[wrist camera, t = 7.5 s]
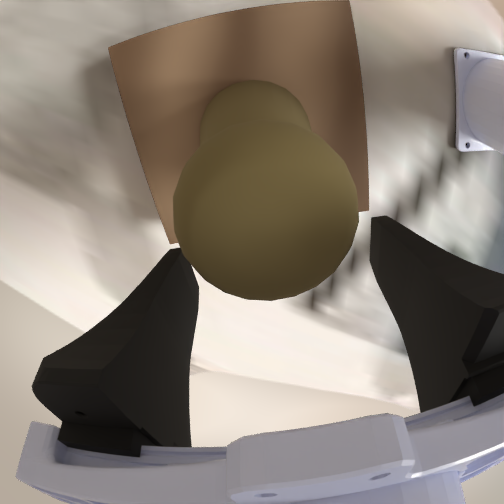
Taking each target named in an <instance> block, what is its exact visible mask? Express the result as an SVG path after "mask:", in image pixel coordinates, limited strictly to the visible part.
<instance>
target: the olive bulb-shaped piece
mask: <svg viewBox="0 0 504 504" xmlns="http://www.w3.org/2000/svg"><path fill="white" fill-rule="evenodd" d="M173 223H174V233H175V235H176V238H177V240H178V243H179V245H180V248H181V250H182V253H183V255H184V257H185V258H186V259H187V260H188V261H189V263H190V264H191V265H192V266H193V267H194V268H195V270H196V271H197V272H198V273H199V274H200V275H201V276H202V277H203V278H204V279H205V280H206V281H207V282H209V283H210V284H212V285H214V286H215V287H217V288H218V289H220V290H222V291H223V292H225V293H228V294H231V295H234V296H238V297H241V298H244V299H248V300H267V301H272V300H278V299H283V298H289V297H294V296H297V295H299V294H301V293H303V292H305V291H308V290H310V289H312V288H314V287H316V286H318V285H319V284H320V283H321V282H323V281H324V280H325V279H326V278H328V277H329V276H330V275H331V274H333V273H334V272H335V270H336V269H337V268H338V266H339V265H340V263H341V262H342V260H343V259H344V258H345V256H346V255H347V253H348V251H349V250H350V248H351V246H352V243H353V240H354V236H355V233H356V230H357V226H358V223H359V214H358V197H357V190H356V186H355V183H354V181H353V179H352V177H351V174H350V172H349V170H348V168H347V165H346V163H345V161H344V160H343V159H342V158H341V157H340V156H339V155H338V154H337V153H336V152H335V151H334V150H333V149H332V148H331V147H330V146H329V145H328V144H327V143H326V142H325V141H324V140H323V139H322V138H321V137H320V136H319V135H318V134H316V133H313V132H312V130H311V126H310V123H309V119H308V116H307V114H306V112H305V110H304V108H303V106H302V105H301V103H300V101H299V100H298V99H297V98H296V97H295V96H294V95H293V94H292V93H290V92H289V91H288V90H287V89H286V88H283V87H281V86H279V85H277V84H274V83H272V82H269V81H259V80H248V81H244V82H239V83H235V84H232V85H231V86H229V87H227V88H226V89H224V90H222V91H220V92H219V93H218V94H217V95H216V96H215V97H214V98H213V99H212V101H211V102H210V103H209V104H208V105H207V107H206V109H205V112H204V114H203V117H202V119H201V122H200V147H199V148H198V149H197V150H196V152H195V153H194V154H193V155H192V156H191V158H190V159H189V160H188V161H187V163H186V164H185V166H184V168H183V170H182V172H181V175H180V178H179V180H178V183H177V186H176V189H175V192H174V195H173Z"/></svg>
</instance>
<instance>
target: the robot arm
mask: <svg viewBox="0 0 504 504" xmlns="http://www.w3.org/2000/svg"><path fill="white" fill-rule="evenodd" d="M464 53H466V58H465V56H464ZM454 63H455V78H456V148H457V149H458V150H459V151H483V150H496V151H498V152H499V153H501V154H503V155H504V56H503V55H498V54H493V53H488V52H483V51H477V50H470V49H464V48H456V49H455V50H454ZM466 143H467V146H466V147H465V144H466ZM370 263H371V266H372V269H373V272H374V275H375V278H376V281H377V283H378V285H379V287H380V289H381V291H382V293H383V295H384V297H385V299H386V301H387V303H388V305H389V307H390V309H391V311H392V313H393V315H394V318H395V320H396V322H397V324H398V326H399V329H400V331H401V334H402V337H403V340H404V343H405V346H406V350H407V353H408V356H409V360H410V364H411V368H412V371H413V376H414V380H415V385H416V389H417V394H418V400H419V406H420V412H421V413H419V414H416V415H412V416H409V417H406V418H403V417H401V416H398V415H393V414H389V413H385V414H378V415H370V416H365V417H360V418H356V419H352V420H346V421H341V422H336V423H331V424H325V425H319V426H313V427H307V428H300V429H293V430H285V431H276V432H267V433H260V434H255V435H250V436H244V437H242V438H239V439H237V440H235V441H233V442H231V443H230V444H229V445H227V447H192V446H191V435H190V415H189V373H190V359H191V351H192V345H193V339H194V333H195V327H196V321H197V315H198V305H199V286H198V283H197V280H196V277H195V275H194V272H193V269H192V266H191V264H190V263H189V261H188V260H187V259H186V258H185V257H184V255H183V253H182V250H181V248H175V249H170V250H169V251H168V252H167V253H166V254H165V255H164V256H163V258H162V259H161V260H160V261H159V262H158V263H157V265H156V266H155V267H154V268H153V269H152V270H151V272H150V273H149V274H148V275H147V276H146V277H145V279H144V280H143V281H142V282H141V283H140V284H139V285H138V286H137V287H136V289H135V290H134V291H133V292H132V293H131V294H130V295H129V296H128V297H127V298H126V299H125V300H124V301H123V302H122V303H121V304H120V305H119V306H118V307H117V308H116V309H115V310H114V311H113V312H111V313H110V314H109V315H108V316H107V317H106V318H104V319H103V320H102V321H100V322H99V323H98V324H97V325H95V326H94V327H93V328H92V329H90V330H89V331H88V332H86V333H85V334H83V335H82V336H81V337H79V338H77V339H76V340H74V341H73V342H71V343H70V344H68V345H66V346H65V347H63V348H61V349H59V350H57V351H56V352H54V353H52V354H50V355H48V356H46V357H44V358H43V360H42V362H41V365H40V367H39V370H38V372H37V375H36V377H35V380H34V382H33V385H32V390H33V392H34V394H35V396H36V397H37V399H38V400H39V401H40V402H41V403H42V404H43V405H44V406H45V407H46V408H47V409H49V410H50V411H51V412H52V413H53V414H54V415H56V416H57V417H58V418H59V419H60V420H61V421H62V425H61V428H58V427H56V426H54V425H50V424H44V423H40V422H35V421H32V422H31V424H30V427H29V431H28V434H27V437H26V441H25V444H24V447H23V450H22V454H21V458H20V461H19V465H18V469H17V473H16V478H17V479H18V480H20V481H22V482H24V483H25V484H27V485H29V486H31V487H33V488H35V489H37V490H39V491H41V492H43V493H45V494H47V495H49V496H51V497H53V498H56V499H58V500H60V501H63V502H67V503H69V504H466V503H465V498H464V495H463V490H462V486H461V483H462V482H464V481H466V480H468V479H470V478H472V477H474V476H476V475H478V474H480V473H482V472H484V471H486V470H488V469H489V468H491V467H493V466H495V465H497V464H498V463H500V462H502V461H504V274H501V273H498V272H495V271H492V270H489V269H486V268H483V267H481V266H478V265H476V264H473V263H471V262H468V261H466V260H464V259H462V258H459V257H457V256H455V255H453V254H451V253H449V252H447V251H445V250H443V249H442V248H440V247H438V246H436V245H434V244H433V243H431V242H429V241H428V240H426V239H424V238H423V237H421V236H419V235H418V234H416V233H414V232H413V231H411V230H410V229H408V228H406V227H405V226H403V225H402V224H400V223H398V222H397V221H395V220H393V219H392V218H390V217H388V216H379V217H372V218H371V242H370Z"/></svg>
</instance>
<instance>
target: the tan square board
mask: <svg viewBox="0 0 504 504" xmlns="http://www.w3.org/2000/svg"><path fill="white" fill-rule="evenodd" d="M108 50H109V54H110V58H111V62H112V66H113V69H114V73H115V77H116V81H117V84H118V88H119V92H120V95H121V99H122V102H123V106H124V109H125V112H126V116H127V119H128V123H129V126H130V129H131V132H132V136H133V139H134V142H135V145H136V148H137V151H138V155H139V158H140V161H141V164H142V167H143V170H144V173H145V176H146V179H147V182H148V185H149V188H150V190H151V193H152V196H153V199H154V202H155V205H156V207H157V210H158V213H159V216H160V219H161V221H162V224H163V227H164V229H165V232H166V235H167V237H168V240H169V243H170V244H174V243H178V240H177V238H176V235H175V233H174V223H173V195H174V192H175V189H176V186H177V183H178V180H179V178H180V175H181V172H182V170H183V168H184V166H185V164H186V163H187V161H188V160H189V159H190V158H191V156H192V155H193V154H194V153H195V152H196V150H197V149H198V148H199V147H200V122H201V119H202V117H203V114H204V112H205V109H206V107H207V105H208V104H209V103H210V102H211V101H212V99H213V98H214V97H215V96H216V95H217V94H218V93H219V92H220V91H222V90H224V89H226V88H227V87H229V86H231V85H232V84H235V83H239V82H244V81H248V80H259V81H269V82H272V83H274V84H277V85H279V86H281V87H283V88H286V89H287V90H288V91H289V92H290V93H292V94H293V95H294V96H295V97H296V98H297V99H298V100H299V101H300V103H301V105H302V106H303V108H304V110H305V112H306V114H307V116H308V119H309V123H310V126H311V130H312V132H313V133H316V134H318V135H319V136H320V137H321V138H322V139H323V140H324V141H325V142H326V143H327V144H328V145H329V146H330V147H331V148H332V149H333V150H334V151H335V152H336V153H337V154H338V155H339V156H340V157H341V158H342V159H343V160H344V161H345V163H346V165H347V168H348V170H349V172H350V174H351V177H352V179H353V181H354V183H355V186H356V190H357V197H358V212H362V211H369V178H368V152H367V134H366V120H365V108H364V97H363V88H362V79H361V70H360V63H359V55H358V48H357V42H356V35H355V29H354V23H353V18H352V12H351V7H350V2H349V0H331V1H309V2H295V3H284V4H275V5H267V6H260V7H253V8H247V9H241V10H235V11H230V12H225V13H220V14H215V15H211V16H206V17H202V18H198V19H194V20H190V21H186V22H182V23H179V24H175V25H172V26H168V27H165V28H161V29H158V30H155V31H152V32H149V33H146V34H143V35H140V36H137V37H134V38H132V39H129V40H126V41H124V42H121V43H118V44H116V45H113V46H111V47H108Z"/></svg>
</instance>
